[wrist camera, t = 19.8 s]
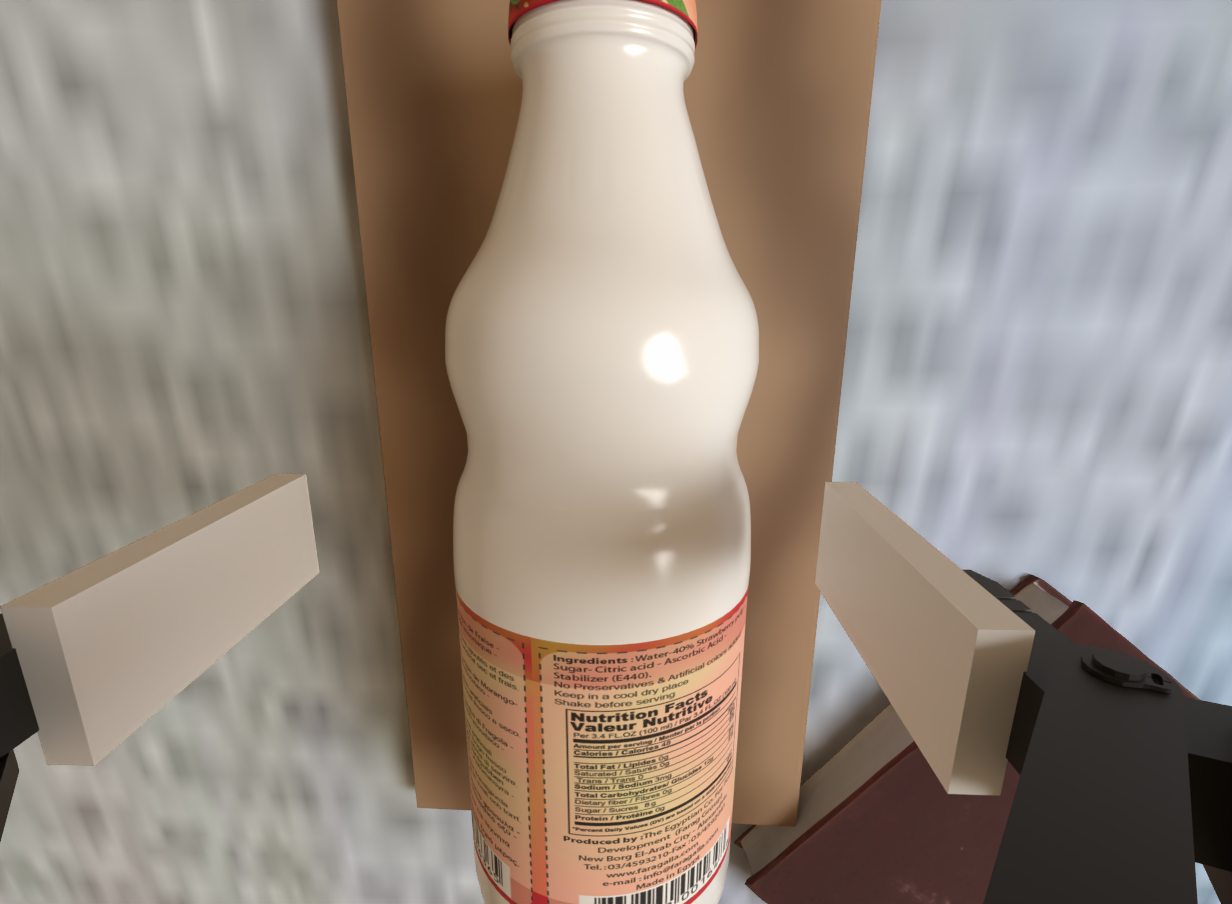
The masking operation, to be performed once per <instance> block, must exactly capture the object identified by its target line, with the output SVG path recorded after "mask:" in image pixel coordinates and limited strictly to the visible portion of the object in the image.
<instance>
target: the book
mask: <svg viewBox="0 0 1232 904" xmlns="http://www.w3.org/2000/svg"><path fill="white" fill-rule="evenodd" d="M1010 593H1011V594H1012V595H1014V596H1015V597H1016V600H1020V601H1021V602H1023V603H1024V604H1025V605H1026V606H1028V607H1029V608H1030V609H1031V610H1032V613H1037V614H1038V615H1039V616H1040V617H1042V618H1043V619H1044V620H1045V621H1047V622H1048V623H1049V624H1051V625H1052V626H1053V627H1054V628H1056V629H1057V630H1058V631H1060V632H1061V633H1062V634H1063V635H1065V636H1066V637H1067V638H1068V639H1070V640H1071V641H1072V642H1074V643H1075V644H1076V645H1086V646H1097V647H1101V648H1105V649H1109V650H1114V651H1118V652H1121V653H1123V654H1126V655H1129V656H1131V657H1134V658H1137V659H1139V660H1142V661H1144V662H1146V663H1148V664H1150V665H1151V666H1153V667H1155V668H1157V669H1159V670H1161V671H1163V672H1164V673H1165V674H1166V675H1168V676H1169V677H1170V678H1171V679H1173V680H1174V681H1175V682H1176V683H1178V685H1179V687H1180V689H1181V691H1182V692H1183V694H1184V697H1186V698H1191V699H1196V700H1200V699H1198V698H1197V697H1196V696H1195V695H1193V694H1192V693H1191V692H1190V691H1188V690H1187V689H1186V688H1185V687H1183V686H1182V685H1181V684H1180V683H1179V682H1178V681H1177V680H1176V679H1174V678H1173V677H1172V676H1171V675H1170V674H1169V673H1167V672H1166V671H1165V670H1163V669H1162V668H1161V667H1159V666H1158V665H1157V664H1156V663H1154V662H1153V661H1152V660H1150V659H1149V658H1148V657H1147V656H1146V655H1144V654H1143V653H1142V652H1141V651H1140V650H1139V649H1138V648H1136V647H1135V646H1134V645H1133V644H1132V643H1131V642H1129V641H1128V640H1127V639H1126V638H1125V637H1123V636H1122V635H1121V634H1119V633H1118V632H1117V631H1116V630H1114V629H1113V628H1112V627H1111V626H1109V625H1108V624H1107V623H1106V622H1105V621H1104V620H1103V619H1102V618H1101V617H1099V616H1098V615H1097V614H1096V613H1095V612H1093V611H1092V610H1091V609H1090V608H1089V607H1087V606H1086V605H1085V604H1084V603H1081V602H1078V601H1073V602H1071V601H1070V600H1068V599H1067V598H1066V597H1065V596H1063V595H1062V594H1061V593H1060V592H1058V591H1057V590H1056V589H1054V588H1053V587H1052V586H1051V585H1049V584H1048V583H1047V582H1045V581H1044V580H1042V579H1040V578H1038V577H1036V576H1034V575H1031V576H1030V577H1028V578H1027V579H1026V580H1024V581H1023V582H1022V583H1020V584H1019V585H1018V586H1017V587H1016V588H1014V589H1013V590H1012V591H1011V592H1010ZM1019 779H1020V775H1019V773H1018V772H1017V771H1016V770H1015V768H1014V767H1013V766H1012V765H1011V764H1010V762H1009V761H1008V762H1007V767H1006V771H1005V776H1004V781H1003V785H1002V790H1001V795H1000V796H998V795H967V794H948V793H947V792H946V790H945V789H944V787H943V785H942V784H941V782H940V781H939V779H938V777H937V776H936V774H935V773H934V771H933V769H932V768H931V766H930V765H929V763H928V762H927V760H926V758H925V757H924V755H923V754H922V752H921V750H920V749H919V747H918V746H917V744H916V742H915V741H914V739H913V738H912V736H911V735H910V733H909V731H908V730H907V728H906V727H905V725H904V723H903V722H902V720H901V719H900V717H899V715H898V714H897V712H896V711H895V709H894V708H893V706H892V704H890V705H889V706H887V707H886V708H885V709H884V710H883V711H882V712H881V713H880V714H879V715H878V716H877V717H876V718H875V719H873V720H872V721H871V722H870V723H869V724H868V725H867V726H866V727H865V728H864V729H863V730H862V731H861V732H859V733H858V734H857V735H856V736H855V737H854V738H853V739H852V740H851V741H849V742H848V743H847V744H846V745H845V746H844V747H843V748H842V749H841V750H840V751H839V752H838V753H837V754H836V755H835V756H834V757H832V758H831V759H830V760H829V761H828V762H827V763H826V764H825V765H824V766H823V767H821V768H820V769H819V770H818V771H817V772H816V773H815V774H814V775H813V776H811V777H810V778H809V779H808V780H807V781H806V782H805V783H804V784H803V785H802V786H800V792H799V801H798V811H797V821H796V826H795V827H792V826H773V825H753V826H752V827H751V828H749V829H748V830H747V831H745V832H744V833H743V834H742V835H741V836H740V837H739V838H738V839H737V840H736V841H735V844H737V845H738V846H740V847H741V848H743V849H744V851H745V853H746V855H747V858H748V861H749V865H750V868H751V872H752V876H751V877H750V878H748V879H747V881H746V883H745V885H747V886H748V887H749V888H750V889H751V890H752V891H753V892H754V893H755V894H756V895H757V896H759V897H760V898H761V899H762V900H763V901H765V902H766V903H767V904H983V902H984V899H985V895H986V892H987V889H988V885H989V882H990V878H991V875H992V871H993V868H994V864H995V861H996V858H997V854H998V851H999V847H1000V844H1001V840H1002V837H1003V834H1004V830H1005V827H1006V823H1007V820H1008V816H1009V813H1010V810H1011V806H1012V803H1013V799H1014V796H1015V792H1016V789H1017V786H1018V782H1019Z"/></svg>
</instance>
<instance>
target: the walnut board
mask: <svg viewBox="0 0 1232 904" xmlns="http://www.w3.org/2000/svg"><path fill="white" fill-rule="evenodd" d="M695 2H696V10H697V31H698V40H697V46H696V48H695V52H694V58H695V61H694V66H693V68H692V71H691V73H690V75H689V77H688V78H687V79H686V80H685V81H684V84H683V92H684V99H685V105H686V109H687V112H688V116H689V120H690V123H691V127H692V130H693V134H694V137H695V141H696V145H697V149H698V153H699V157H700V161H701V165H702V168H703V172H704V176H705V179H706V183H707V186H708V190H709V194H710V197H711V201H712V204H713V207H714V211H715V214H716V217H717V221H718V224H719V227H720V230H721V233H722V236H723V239H724V242H725V245H726V247H727V250H728V252H729V255H730V257H731V259H732V261H733V263H734V265H735V267H736V269H737V271H738V273H739V275H740V277H741V279H742V281H743V282H744V284H745V286H746V288H747V290H748V292H749V294H750V296H751V298H752V301H753V303H754V307H755V310H756V314H757V319H758V327H759V364H758V370H757V375H756V379H755V383H754V386H753V390H752V393H751V396H750V399H749V402H748V405H747V408H746V410H745V413H744V416H743V419H742V422H741V425H740V428H739V431H738V436H737V447H736V452H737V459H738V463H739V467H740V470H741V472H742V474H743V477H744V480H745V483H746V486H747V490H748V495H749V501H750V515H751V563H750V576H749V586H748V596H747V608H746V623H745V637H744V652H743V666H742V681H741V696H740V710H739V724H738V739H737V753H736V768H735V782H734V796H733V811H732V823H733V824H753V825H773V826H792V827H795V826H796V821H797V811H798V801H799V792H800V782H801V772H802V763H803V753H804V743H805V734H806V724H807V714H808V705H809V695H810V685H811V676H812V666H813V657H814V647H815V637H816V628H817V618H818V608H819V599H820V590H819V588H818V587H817V585H816V584H815V579H816V569H817V560H818V550H819V540H820V530H821V520H822V511H823V501H824V491H825V482H832V473H833V463H834V454H835V444H836V434H837V425H838V415H839V405H840V396H841V386H842V376H843V367H844V357H845V347H846V338H847V328H848V318H849V309H850V299H851V289H852V280H853V270H854V260H855V251H856V241H857V231H858V222H859V212H860V203H861V193H862V183H863V174H864V164H865V154H866V145H867V135H868V125H869V116H870V106H871V96H872V87H873V77H874V67H875V58H876V48H877V38H878V29H879V19H880V9H881V0H695ZM509 3H510V0H337V7H338V17H339V27H340V37H341V47H342V57H343V67H344V77H345V87H346V97H347V107H348V117H349V127H350V137H351V147H352V157H353V167H354V177H355V187H356V198H357V208H358V218H359V228H360V238H361V248H362V258H363V268H364V278H365V288H366V298H367V308H368V318H369V328H370V338H371V348H372V358H373V368H374V378H375V388H376V398H377V408H378V418H379V428H380V438H381V448H382V458H383V468H384V478H385V488H386V498H387V509H388V519H389V529H390V539H391V549H392V559H393V569H394V579H395V589H396V599H397V609H398V619H399V629H400V639H401V649H402V659H403V669H404V679H405V689H406V699H407V709H408V719H409V729H410V739H411V749H412V759H413V769H414V779H415V789H416V799H417V808H435V809H455V810H471V797H470V782H469V768H468V754H467V739H466V725H465V710H464V696H463V681H462V666H461V651H460V637H459V622H458V608H457V596H456V587H455V577H454V560H453V519H454V504H455V496H456V491H457V487H458V484H459V481H460V478H461V475H462V473H463V471H464V468H465V465H466V462H467V455H468V441H467V432H466V429H465V426H464V423H463V420H462V417H461V415H460V412H459V409H458V406H457V403H456V400H455V397H454V395H453V392H452V389H451V385H450V381H449V378H448V374H447V368H446V363H445V327H446V319H447V313H448V309H449V306H450V302H451V300H452V297H453V295H454V292H455V290H456V288H457V287H458V285H459V283H460V281H461V279H462V278H463V276H464V274H465V273H466V271H467V269H468V268H469V266H470V264H471V263H472V261H473V259H474V258H475V256H476V254H477V252H478V251H479V249H480V247H481V245H482V243H483V241H484V239H485V237H486V234H487V232H488V229H489V227H490V224H491V221H492V219H493V215H494V212H495V209H496V205H497V202H498V199H499V195H500V192H501V188H502V184H503V181H504V177H505V173H506V170H507V166H508V162H509V158H510V153H511V149H512V145H513V141H514V137H515V132H516V128H517V123H518V119H519V113H520V108H521V102H522V93H523V82H522V78H520V77H519V75H518V74H517V73H516V71H515V69H514V66H513V64H512V60H511V52H512V50H511V46H510V44H509V40H508V17H509Z"/></svg>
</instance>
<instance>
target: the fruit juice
mask: <svg viewBox="0 0 1232 904" xmlns="http://www.w3.org/2000/svg"><path fill="white" fill-rule="evenodd" d="M508 40H509V44H510V46H511V50H512V52H511V60H512V64H513V66H514V69H515V71H516V73H517V74H518V75H519V77H520V78H522V82H523V93H522V102H521V108H520V113H519V119H518V123H517V128H516V132H515V137H514V141H513V145H512V149H511V153H510V158H509V162H508V166H507V170H506V173H505V177H504V181H503V184H502V188H501V192H500V195H499V199H498V202H497V205H496V209H495V212H494V215H493V219H492V221H491V224H490V227H489V229H488V232H487V234H486V237H485V239H484V241H483V243H482V245H481V247H480V249H479V251H478V252H477V254H476V256H475V258H474V259H473V261H472V263H471V264H470V266H469V268H468V269H467V271H466V273H465V274H464V276H463V278H462V279H461V281H460V283H459V285H458V287H457V288H456V290H455V292H454V295H453V297H452V300H451V302H450V306H449V309H448V313H447V319H446V327H445V363H446V368H447V374H448V378H449V381H450V385H451V389H452V392H453V395H454V397H455V400H456V403H457V406H458V409H459V412H460V415H461V417H462V420H463V423H464V426H465V429H466V432H467V441H468V455H467V462H466V465H465V468H464V471H463V473H462V475H461V478H460V481H459V484H458V487H457V491H456V496H455V504H454V519H453V560H454V577H455V587H456V596H457V608H458V622H459V637H460V651H461V666H462V681H463V696H464V710H465V725H466V739H467V754H468V768H469V782H470V797H471V811H472V825H473V840H474V854H475V865H476V872H477V876H478V880H479V885H480V889H481V893H482V896H483V899H484V902H485V904H718V902H719V899H720V897H721V893H722V890H723V886H724V882H725V878H726V874H727V869H728V863H729V853H730V839H731V825H732V811H733V796H734V782H735V768H736V753H737V739H738V724H739V710H740V696H741V681H742V666H743V652H744V637H745V623H746V608H747V596H748V586H749V576H750V563H751V515H750V501H749V495H748V490H747V486H746V483H745V480H744V477H743V474H742V472H741V470H740V467H739V463H738V459H737V452H736V447H737V436H738V431H739V428H740V425H741V422H742V419H743V416H744V413H745V410H746V408H747V405H748V402H749V399H750V396H751V393H752V390H753V386H754V383H755V379H756V375H757V370H758V364H759V327H758V319H757V314H756V310H755V307H754V303H753V301H752V298H751V296H750V294H749V292H748V290H747V288H746V286H745V284H744V282H743V281H742V279H741V277H740V275H739V273H738V271H737V269H736V267H735V265H734V263H733V261H732V259H731V257H730V255H729V252H728V250H727V247H726V245H725V242H724V239H723V236H722V233H721V230H720V227H719V224H718V221H717V217H716V214H715V211H714V207H713V204H712V201H711V197H710V194H709V190H708V186H707V183H706V179H705V176H704V172H703V168H702V165H701V161H700V157H699V153H698V149H697V145H696V141H695V137H694V134H693V130H692V127H691V123H690V120H689V116H688V112H687V109H686V105H685V99H684V92H683V84H684V81H685V80H686V79H687V78H688V77H689V75H690V73H691V71H692V68H693V66H694V61H695V58H694V52H695V48H696V46H697V40H698V31H697V10H696V2H695V0H510V3H509V17H508Z"/></svg>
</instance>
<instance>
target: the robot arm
mask: <svg viewBox="0 0 1232 904" xmlns="http://www.w3.org/2000/svg"><path fill="white" fill-rule="evenodd" d="M319 573H320V571H319V564H318V557H317V550H316V542H315V535H314V528H313V521H312V513H311V506H310V499H309V491H308V484H307V477H306V474H275V475H273V476H271V477H268V478H266V479H264V480H262V481H260V482H258V483H256V484H254V485H252V486H250V487H248V488H246V489H244V490H241V491H239V492H237V493H235V494H233V495H231V496H229V497H227V498H225V499H223V500H221V501H219V502H217V503H214V504H212V505H210V506H208V507H206V508H204V509H202V510H200V511H198V512H196V513H194V514H192V515H190V516H187V517H185V518H183V519H181V520H179V521H177V522H175V523H173V524H171V525H169V526H167V527H165V528H163V529H160V530H158V531H156V532H154V533H152V534H150V535H148V536H146V537H144V538H142V539H140V540H138V541H136V542H133V543H131V544H129V545H127V546H125V547H123V548H121V549H119V550H117V551H115V552H113V553H111V554H109V555H106V556H104V557H102V558H100V559H98V560H96V561H94V562H92V563H90V564H88V565H86V566H84V567H82V568H79V569H77V570H75V571H73V572H71V573H69V574H67V575H65V576H63V577H61V578H59V579H57V580H54V581H52V582H50V583H48V584H46V585H44V586H42V587H40V588H38V589H36V590H34V591H32V592H30V593H27V594H25V595H23V596H21V597H19V598H17V599H15V600H13V601H11V602H9V603H7V604H5V605H3V606H0V608H1V611H2V614H0V841H1V837H2V834H3V830H4V826H5V822H6V819H7V815H8V811H9V807H10V804H11V800H12V796H13V792H14V789H15V785H16V781H17V777H18V774H19V768H18V764H17V760H16V757H15V754H14V751H13V749H14V748H15V747H17V746H18V745H19V744H21V743H22V742H23V741H25V740H26V739H28V738H29V737H30V736H32V735H33V734H35V733H36V732H38V736H39V739H40V742H41V746H42V749H43V752H44V756H45V759H46V763H47V764H49V765H79V766H95V765H96V764H97V763H98V762H100V761H101V760H102V759H103V758H104V757H105V756H107V755H108V754H109V753H110V752H111V751H112V750H114V749H115V748H116V747H117V746H118V745H119V744H121V743H122V742H123V741H124V740H125V739H126V738H128V737H129V736H130V735H131V734H132V733H133V732H135V731H136V730H137V729H138V728H139V727H140V726H142V725H143V724H144V723H145V722H146V721H147V720H149V719H150V718H151V717H152V716H153V715H154V714H156V713H157V712H158V711H159V710H160V709H161V708H162V707H164V706H165V705H166V704H167V703H168V702H169V701H171V700H172V699H173V698H174V697H175V696H176V695H178V694H179V693H180V692H181V691H182V690H183V689H185V688H186V687H187V686H188V685H189V684H190V683H192V682H193V681H194V680H195V679H196V678H197V677H199V676H200V675H201V674H202V673H203V672H204V671H206V670H207V669H208V668H209V667H210V666H211V665H213V664H214V663H215V662H216V661H217V660H218V659H220V658H221V657H222V656H223V655H224V654H225V653H227V652H228V651H229V650H230V649H231V648H232V647H234V646H235V645H236V644H237V643H238V642H239V641H241V640H242V639H243V638H244V637H245V636H246V635H248V634H249V633H250V632H251V631H252V630H253V629H255V628H256V627H257V626H258V625H259V624H260V623H261V622H263V621H264V620H265V619H266V618H267V617H268V616H270V615H271V614H272V613H273V612H274V611H275V610H277V609H278V608H279V607H280V606H281V605H282V604H284V603H285V602H286V601H287V600H288V599H289V598H291V597H292V596H293V595H294V594H295V593H296V592H298V591H299V590H300V589H301V588H302V587H303V586H305V585H306V584H307V583H308V582H309V581H310V580H312V579H313V578H314V577H315V576H316V575H317V574H319ZM815 584H816V585H817V587H818V588H819V590H820V592H821V593H822V595H823V596H824V598H825V600H826V601H827V603H828V604H829V606H830V607H831V609H832V611H833V612H834V614H835V615H836V617H837V619H838V620H839V622H840V623H841V625H842V627H843V628H844V630H845V631H846V633H847V634H848V636H849V638H850V639H851V641H852V642H853V644H854V646H855V647H856V649H857V650H858V652H859V654H860V655H861V657H862V658H863V660H864V661H865V663H866V665H867V666H868V668H869V669H870V671H871V673H872V674H873V676H874V677H875V679H876V681H877V682H878V684H879V685H880V687H881V688H882V690H883V692H884V693H885V695H886V696H887V698H888V700H889V701H890V703H891V704H892V706H893V708H894V709H895V711H896V712H897V714H898V715H899V717H900V719H901V720H902V722H903V723H904V725H905V727H906V728H907V730H908V731H909V733H910V735H911V736H912V738H913V739H914V741H915V742H916V744H917V746H918V747H919V749H920V750H921V752H922V754H923V755H924V757H925V758H926V760H927V762H928V763H929V765H930V766H931V768H932V769H933V771H934V773H935V774H936V776H937V777H938V779H939V781H940V782H941V784H942V785H943V787H944V789H945V790H946V792H947V793H948V794H967V795H998V796H1000V795H1001V790H1002V785H1003V781H1004V776H1005V771H1006V767H1007V762H1008V761H1009V762H1010V764H1011V765H1012V766H1013V767H1014V768H1015V770H1016V771H1017V772H1018V773H1019V775H1020V779H1019V782H1018V786H1017V789H1016V792H1015V796H1014V799H1013V803H1012V806H1011V810H1010V813H1009V816H1008V820H1007V823H1006V827H1005V830H1004V834H1003V837H1002V840H1001V844H1000V847H999V851H998V854H997V858H996V861H995V864H994V868H993V871H992V875H991V878H990V882H989V885H988V889H987V892H986V895H985V899H984V902H983V904H1197V888H1196V873H1195V862H1197V863H1201V864H1203V866H1204V868H1205V870H1206V872H1207V875H1208V877H1209V879H1210V881H1211V883H1212V885H1213V887H1214V890H1215V892H1216V894H1217V896H1218V898H1219V900H1220V902H1221V904H1232V706H1227V705H1222V704H1217V703H1212V702H1207V701H1202V700H1196V699H1191V698H1186V697H1184V694H1183V692H1182V691H1181V689H1180V687H1179V685H1178V683H1176V682H1175V681H1174V680H1173V679H1171V678H1170V677H1169V676H1168V675H1166V674H1165V673H1164V672H1163V671H1161V670H1159V669H1157V668H1155V667H1153V666H1151V665H1150V664H1148V663H1146V662H1144V661H1142V660H1139V659H1137V658H1134V657H1131V656H1129V655H1126V654H1123V653H1121V652H1118V651H1114V650H1109V649H1105V648H1101V647H1097V646H1086V645H1076V644H1075V643H1074V642H1072V641H1071V640H1070V639H1068V638H1067V637H1066V636H1065V635H1063V634H1062V633H1061V632H1060V631H1058V630H1057V629H1056V628H1054V627H1053V626H1052V625H1051V624H1049V623H1048V622H1047V621H1045V620H1044V619H1043V618H1042V617H1040V616H1039V615H1038V614H1037V613H1032V610H1031V609H1030V608H1029V607H1028V606H1026V605H1025V604H1024V603H1023V602H1021V601H1020V600H1016V597H1015V596H1014V595H1012V594H1011V593H1010V592H1009V591H1007V590H1006V589H1005V588H1003V587H1002V586H1001V585H1000V584H998V583H997V582H995V581H993V580H991V579H989V578H986V577H984V576H982V575H980V574H978V573H976V572H974V571H972V570H962V569H960V568H959V567H958V566H957V565H956V564H954V563H953V562H952V561H951V560H950V559H948V558H947V557H946V556H945V555H943V554H942V553H941V552H940V551H939V550H937V549H936V548H935V547H934V546H933V545H931V544H930V543H929V542H928V541H927V540H925V539H924V538H923V537H922V536H921V535H919V534H918V533H917V532H916V531H915V530H913V529H912V528H911V527H910V526H909V525H907V524H906V523H905V522H904V521H903V520H901V519H900V518H899V517H898V516H897V515H895V514H894V513H893V512H892V511H890V510H889V509H888V508H887V507H886V506H884V505H883V504H882V503H881V502H880V501H878V500H877V499H876V498H875V497H874V496H872V495H871V494H870V493H869V492H868V491H866V490H865V489H864V488H863V487H862V486H860V485H859V484H858V483H857V482H825V491H824V501H823V511H822V520H821V530H820V540H819V550H818V560H817V569H816V579H815Z"/></svg>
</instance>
